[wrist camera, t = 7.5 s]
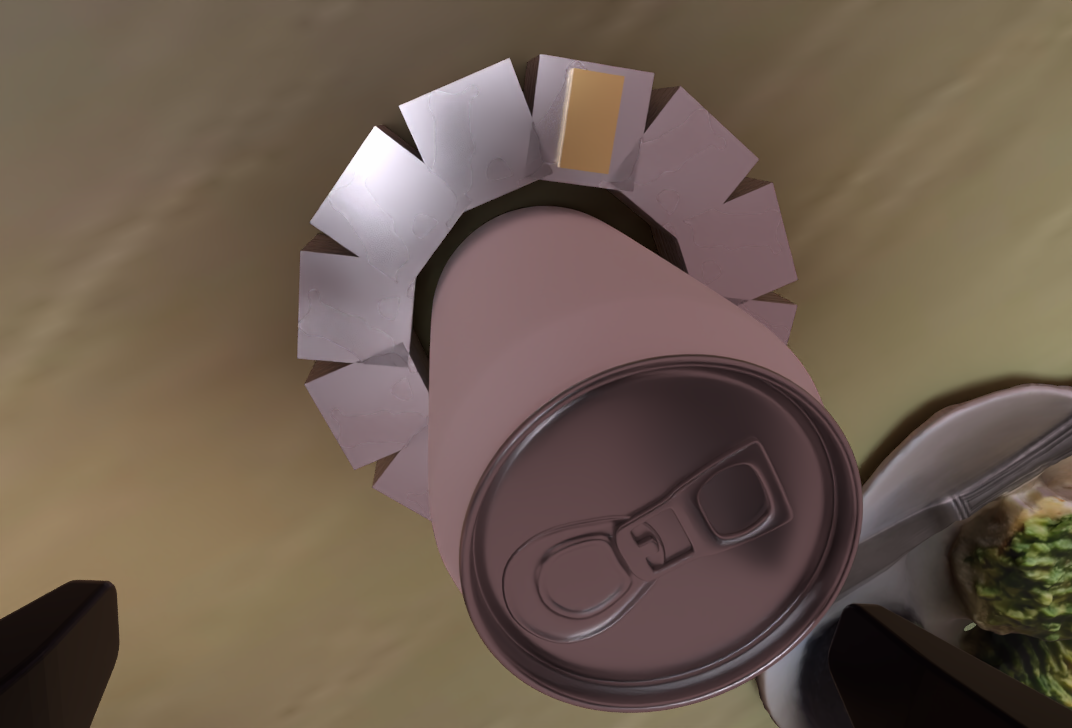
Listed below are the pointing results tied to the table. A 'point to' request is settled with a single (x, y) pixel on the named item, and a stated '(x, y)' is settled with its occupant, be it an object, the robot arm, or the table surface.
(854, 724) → the robot arm
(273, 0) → the table surface
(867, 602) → the avocado toast plate
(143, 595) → the table surface
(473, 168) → the toothed ring
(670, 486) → the can
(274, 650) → the table surface
